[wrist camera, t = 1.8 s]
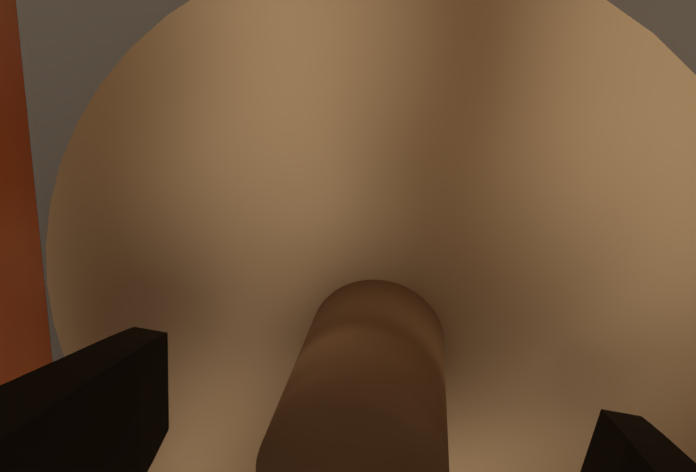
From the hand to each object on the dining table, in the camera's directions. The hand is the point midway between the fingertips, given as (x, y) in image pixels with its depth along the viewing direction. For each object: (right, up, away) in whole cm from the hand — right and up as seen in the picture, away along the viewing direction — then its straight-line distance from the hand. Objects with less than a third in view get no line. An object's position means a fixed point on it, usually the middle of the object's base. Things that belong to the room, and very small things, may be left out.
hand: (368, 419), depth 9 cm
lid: (0, +1, +3) cm, 3 cm away
